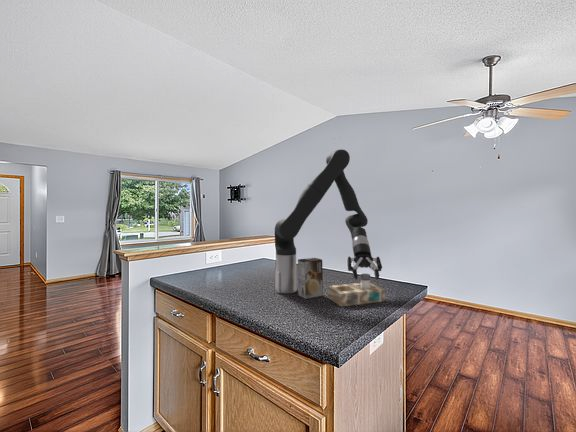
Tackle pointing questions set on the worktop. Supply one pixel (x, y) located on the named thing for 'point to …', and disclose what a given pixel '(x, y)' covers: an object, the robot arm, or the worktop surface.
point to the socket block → (355, 294)
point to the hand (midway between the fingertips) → (366, 278)
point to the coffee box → (310, 277)
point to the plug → (365, 281)
